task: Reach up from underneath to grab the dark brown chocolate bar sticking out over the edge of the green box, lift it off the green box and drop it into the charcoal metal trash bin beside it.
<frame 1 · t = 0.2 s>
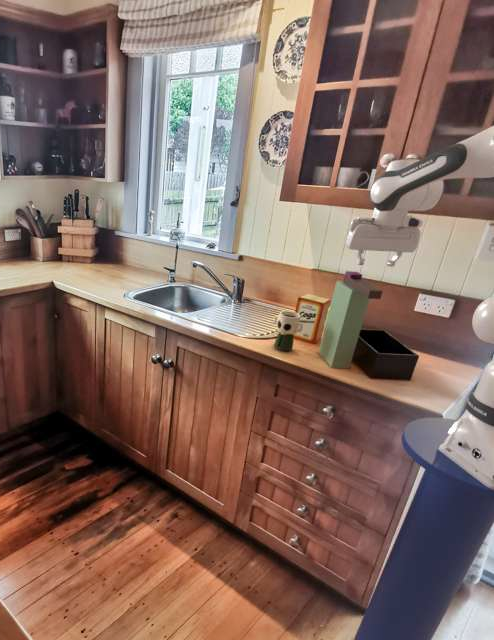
hand: (375, 265, 143), 33 cm above the worktop, tool pointing down, fingers open, 8 cm apart
baking soda box: (305, 338, 177), on the worktop
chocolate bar: (360, 290, 142), point 26 cm above the worktop, touching green box
candy box: (333, 332, 184), on the worktop
character mug: (282, 349, 166), on the worktop
green box: (333, 360, 159), on the worktop
trash bin: (374, 364, 157), on the worktop
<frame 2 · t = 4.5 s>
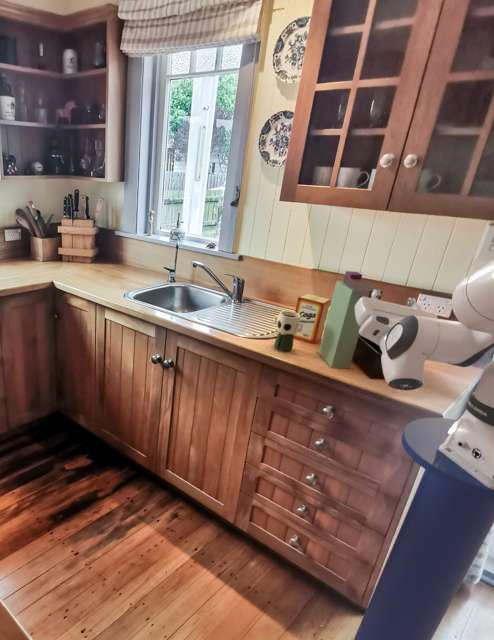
hand: (393, 295, 126), 29 cm above the worktop, tool pointing upward, fingers open, 8 cm apart
nothing on the worktop moved.
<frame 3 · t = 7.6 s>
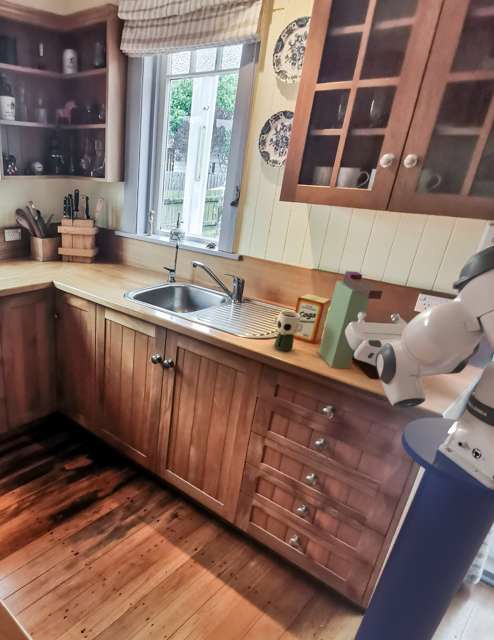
hand: (377, 314, 132), 23 cm above the worktop, tool pointing upward, fingers open, 8 cm apart
nothing on the worktop moved.
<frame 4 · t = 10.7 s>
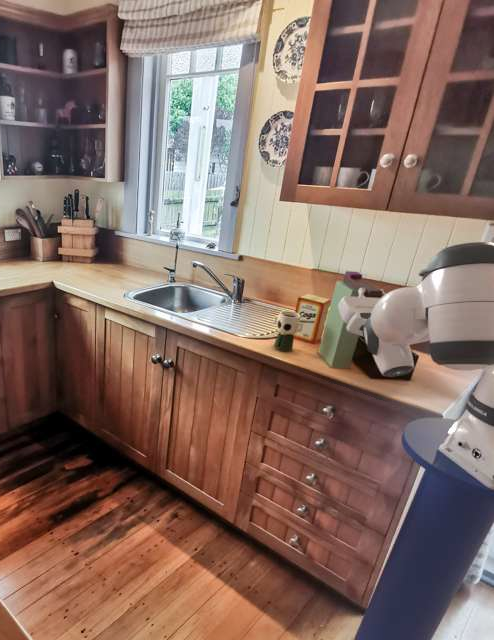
hand: (369, 289, 137), 28 cm above the worktop, tool pointing upward, fingers closed on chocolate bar, 3 cm apart
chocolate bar: (360, 290, 142), point 26 cm above the worktop, touching gripper, green box
everything else where it was.
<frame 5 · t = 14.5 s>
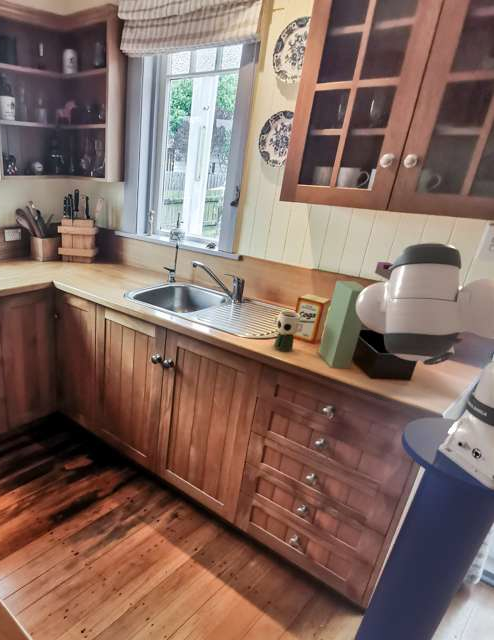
hand: (404, 279, 138), 31 cm above the worktop, tool pointing upward, fingers closed on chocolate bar, 3 cm apart
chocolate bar: (394, 280, 143), point 29 cm above the worktop, touching gripper
everything else where it was.
when the fingers open (17 cm above the worktop, at t = 18.5 s): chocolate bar drops 14 cm, resting on trash bin.
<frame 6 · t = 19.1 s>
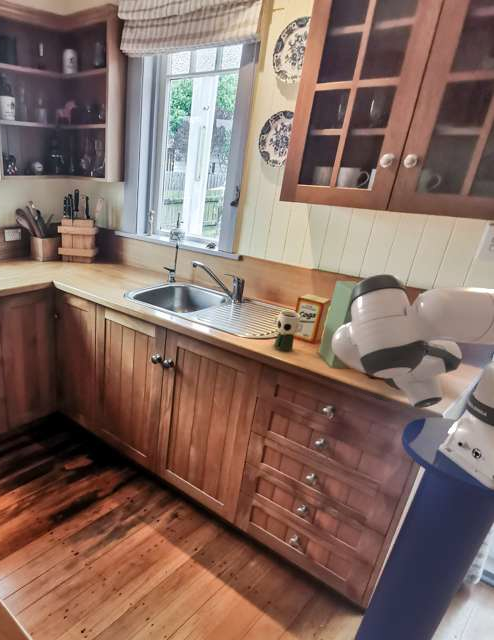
hand: (397, 322, 145), 17 cm above the worktop, tool pointing upward, fingers open, 8 cm apart
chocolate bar: (374, 364, 155), point 1 cm above the worktop, touching trash bin
everything else where it was.
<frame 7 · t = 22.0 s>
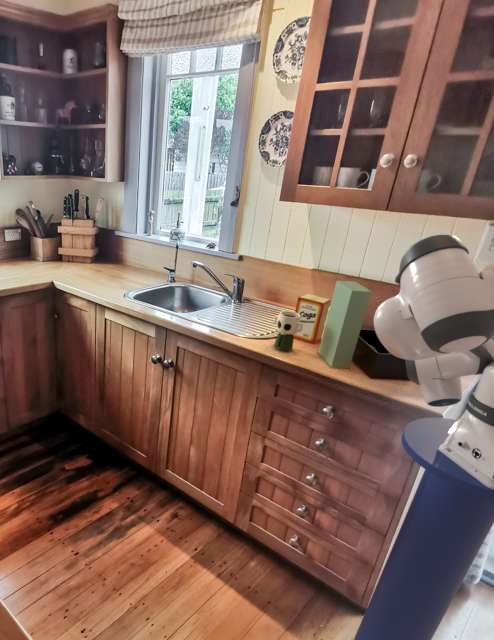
hand: (425, 309, 131), 25 cm above the worktop, tool pointing upward, fingers open, 8 cm apart
nothing on the worktop moved.
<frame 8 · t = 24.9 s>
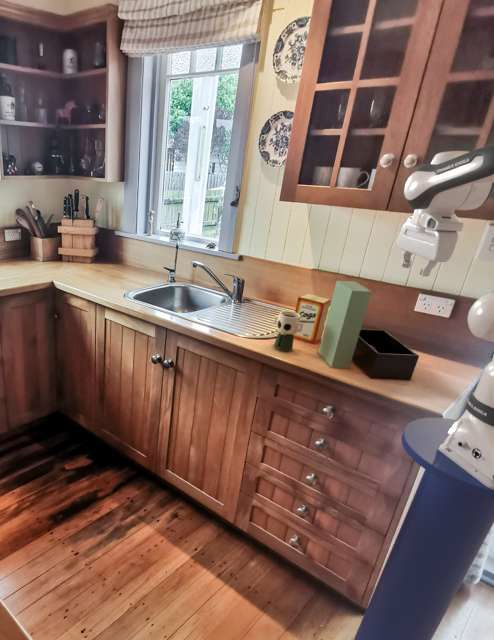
hand: (414, 271, 128), 35 cm above the worktop, tool pointing down, fingers open, 8 cm apart
nothing on the worktop moved.
at the end: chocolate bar inside the target area in the trash bin (1.6 cm from its centre), point 0.6 cm above the trash bin's base; the gripper is holding nothing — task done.
